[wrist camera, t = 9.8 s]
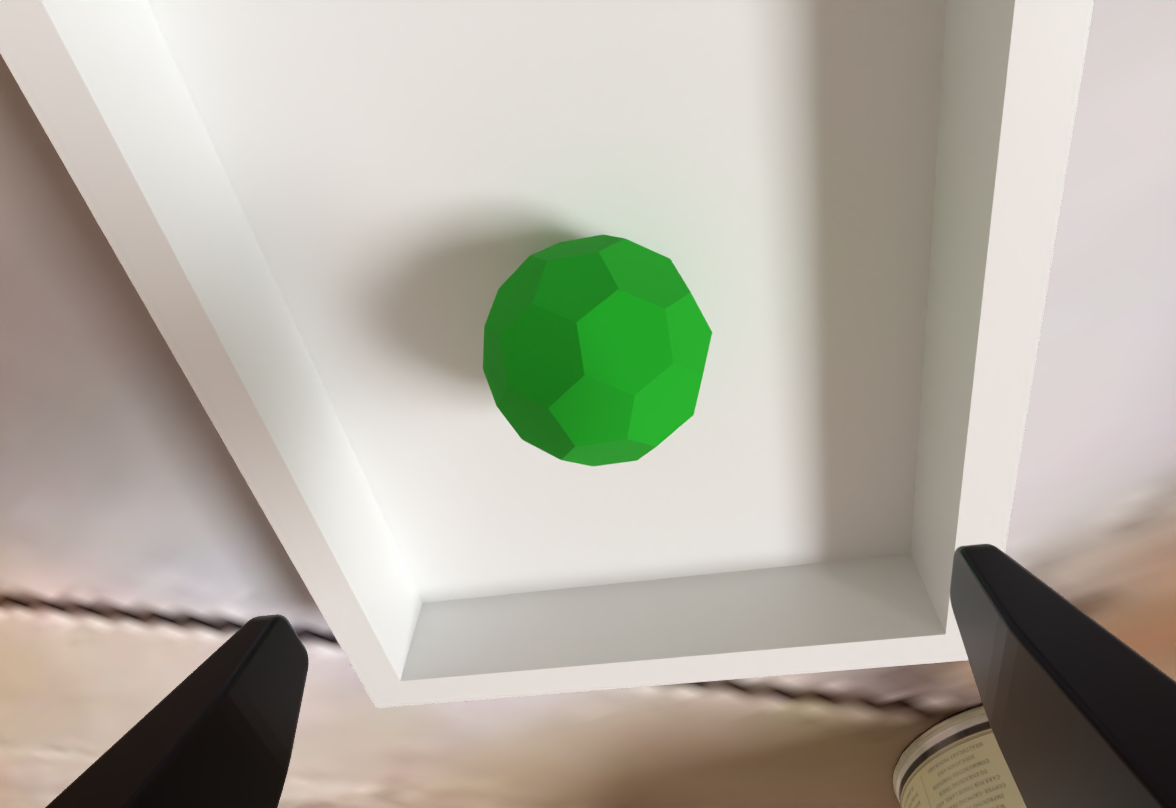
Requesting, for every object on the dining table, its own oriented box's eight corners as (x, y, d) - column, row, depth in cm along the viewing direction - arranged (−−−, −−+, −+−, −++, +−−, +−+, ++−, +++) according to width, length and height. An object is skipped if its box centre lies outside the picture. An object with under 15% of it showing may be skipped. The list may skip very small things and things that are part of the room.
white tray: (1028, -412, 12) (1178, -527, 9) (938, 553, 24) (987, 658, 21) (46, -149, 15) (-123, -162, 11) (407, 607, 27) (376, 708, 23)
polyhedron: (689, 186, 17) (708, 275, 13) (714, 371, 19) (736, 492, 15) (475, 226, 18) (431, 323, 14) (527, 399, 20) (503, 521, 16)
